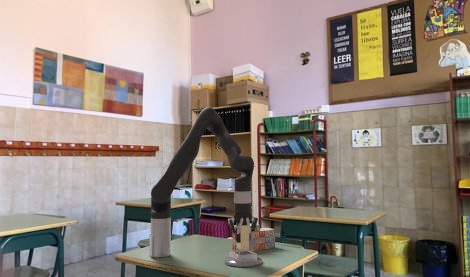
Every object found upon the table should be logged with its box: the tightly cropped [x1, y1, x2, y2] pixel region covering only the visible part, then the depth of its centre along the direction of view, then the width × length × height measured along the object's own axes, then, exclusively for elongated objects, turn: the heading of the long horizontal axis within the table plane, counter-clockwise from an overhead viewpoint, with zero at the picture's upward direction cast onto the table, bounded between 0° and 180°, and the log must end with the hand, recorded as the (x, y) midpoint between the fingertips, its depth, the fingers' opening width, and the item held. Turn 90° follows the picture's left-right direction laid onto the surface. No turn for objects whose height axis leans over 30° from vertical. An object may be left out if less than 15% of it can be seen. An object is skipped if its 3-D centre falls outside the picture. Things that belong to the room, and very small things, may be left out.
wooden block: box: [237, 225, 249, 250], centre depth 158 cm, size 4×4×10 cm
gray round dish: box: [223, 250, 263, 268], centre depth 158 cm, size 16×16×4 cm
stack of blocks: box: [231, 223, 276, 252], centre depth 184 cm, size 21×6×12 cm, turn 119°
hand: (243, 241), depth 158 cm, fingers closed on wooden block, 4 cm apart
